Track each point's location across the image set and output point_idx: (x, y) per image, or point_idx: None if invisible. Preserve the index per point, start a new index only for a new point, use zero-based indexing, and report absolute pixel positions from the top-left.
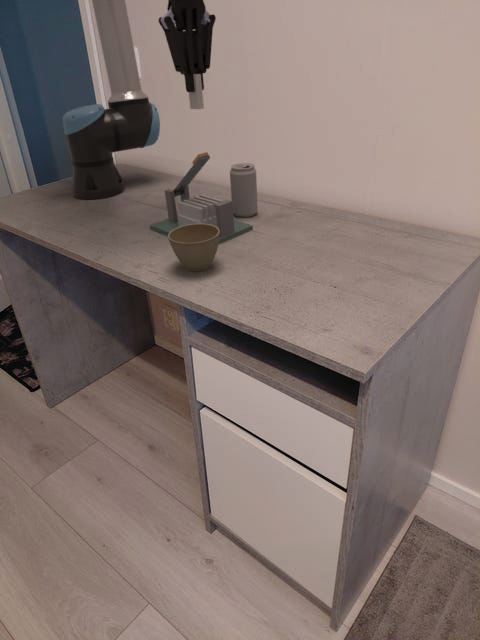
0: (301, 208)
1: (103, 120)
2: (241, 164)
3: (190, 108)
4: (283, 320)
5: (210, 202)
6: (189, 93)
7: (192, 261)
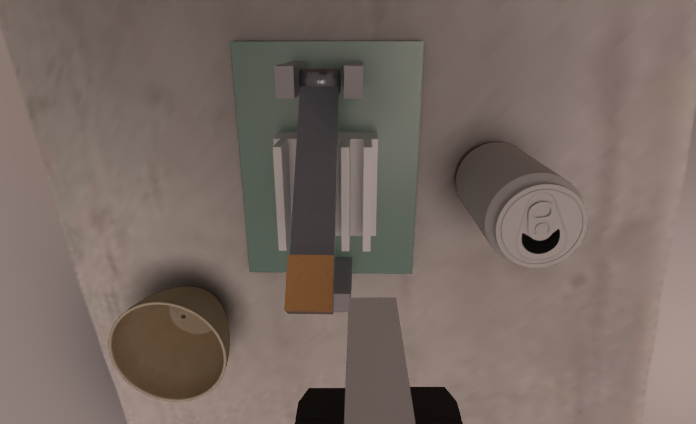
0: (607, 268)
1: None
2: (560, 206)
3: (349, 299)
4: None
5: (341, 224)
6: (347, 362)
7: (157, 347)
